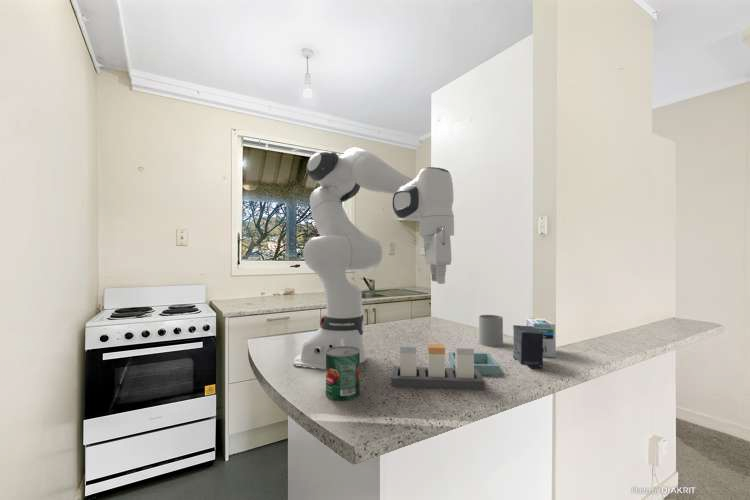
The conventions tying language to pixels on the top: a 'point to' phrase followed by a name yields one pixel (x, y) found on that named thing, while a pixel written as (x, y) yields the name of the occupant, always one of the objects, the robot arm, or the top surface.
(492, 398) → the top surface
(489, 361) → the tray
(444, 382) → the block
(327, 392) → the canned tomato
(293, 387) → the top surface
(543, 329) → the light bulb box
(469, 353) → the block
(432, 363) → the block
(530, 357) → the small box
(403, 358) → the block
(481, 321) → the cup
